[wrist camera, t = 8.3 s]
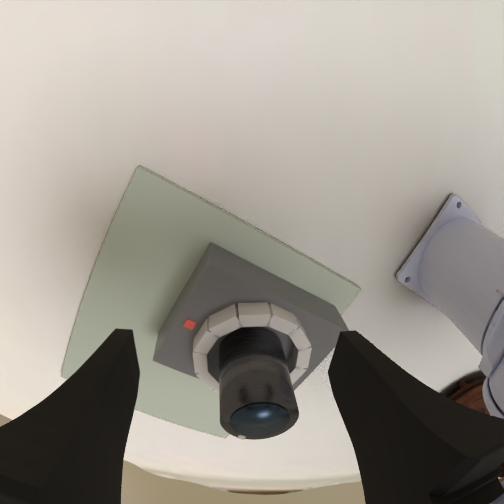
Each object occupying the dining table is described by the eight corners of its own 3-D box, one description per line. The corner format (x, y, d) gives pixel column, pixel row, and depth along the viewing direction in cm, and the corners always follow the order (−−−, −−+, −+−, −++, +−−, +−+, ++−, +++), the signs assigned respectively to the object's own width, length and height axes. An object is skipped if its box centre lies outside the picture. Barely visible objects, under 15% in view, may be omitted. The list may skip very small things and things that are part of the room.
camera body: (335, 305, 22) (355, 342, 19) (273, 377, 25) (281, 416, 21) (210, 241, 20) (209, 274, 16) (158, 332, 22) (149, 373, 18)
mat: (358, 286, 23) (361, 289, 22) (225, 434, 29) (225, 438, 28) (139, 165, 18) (137, 166, 17) (62, 372, 24) (60, 376, 23)
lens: (294, 340, 20) (315, 409, 14) (260, 380, 21) (270, 447, 16) (239, 316, 18) (246, 389, 13) (207, 360, 20) (206, 431, 15)
